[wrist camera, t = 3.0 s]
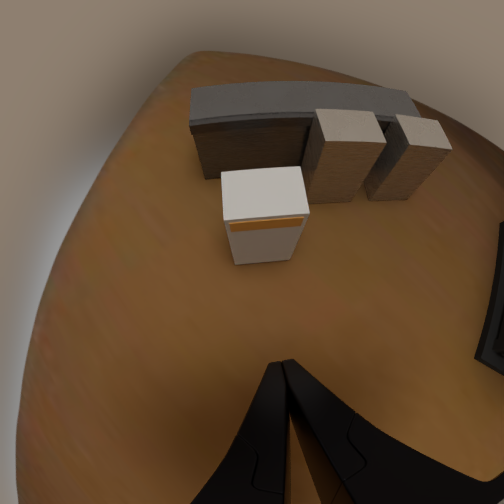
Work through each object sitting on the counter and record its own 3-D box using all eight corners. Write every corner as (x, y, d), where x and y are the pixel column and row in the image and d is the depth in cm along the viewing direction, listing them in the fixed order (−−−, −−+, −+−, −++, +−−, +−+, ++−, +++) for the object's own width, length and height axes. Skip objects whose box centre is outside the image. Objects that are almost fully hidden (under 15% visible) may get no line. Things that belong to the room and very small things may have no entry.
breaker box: (406, 199, 25) (452, 149, 17) (206, 212, 25) (184, 151, 16) (385, 141, 27) (416, 85, 19) (205, 146, 27) (189, 79, 18)
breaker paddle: (289, 260, 23) (309, 214, 15) (235, 265, 23) (223, 221, 15) (285, 225, 24) (300, 165, 16) (232, 230, 24) (221, 171, 15)
